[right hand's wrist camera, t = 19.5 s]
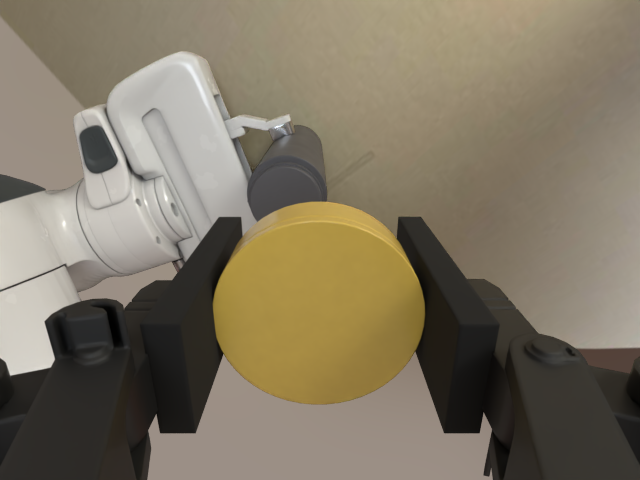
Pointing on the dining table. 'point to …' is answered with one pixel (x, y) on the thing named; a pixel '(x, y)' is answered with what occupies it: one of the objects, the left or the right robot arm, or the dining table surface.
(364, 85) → the dining table surface
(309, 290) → the lid
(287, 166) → the dark grey cylinder
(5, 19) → the dining table surface
